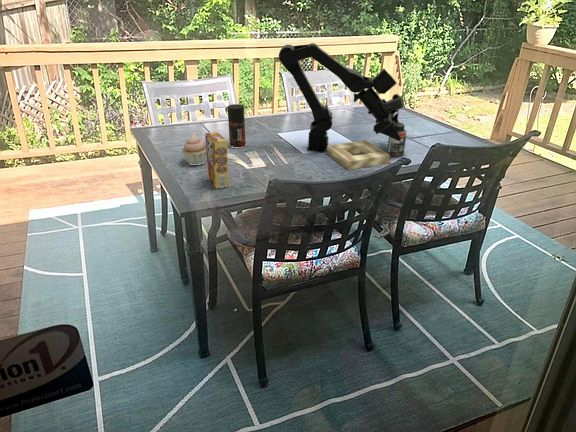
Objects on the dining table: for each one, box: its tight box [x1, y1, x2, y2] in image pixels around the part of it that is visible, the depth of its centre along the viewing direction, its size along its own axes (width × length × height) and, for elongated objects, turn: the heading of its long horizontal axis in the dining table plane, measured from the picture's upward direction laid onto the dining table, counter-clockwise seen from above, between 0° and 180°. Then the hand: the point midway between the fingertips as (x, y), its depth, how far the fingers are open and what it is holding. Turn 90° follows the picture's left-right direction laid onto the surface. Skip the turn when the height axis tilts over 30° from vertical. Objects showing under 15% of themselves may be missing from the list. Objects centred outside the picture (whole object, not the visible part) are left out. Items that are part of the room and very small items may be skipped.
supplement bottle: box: [386, 122, 407, 158], centre depth 165 cm, size 6×6×11 cm
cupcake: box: [181, 134, 207, 164], centre depth 158 cm, size 9×9×10 cm
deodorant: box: [227, 103, 246, 147], centre depth 171 cm, size 6×6×15 cm
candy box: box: [204, 131, 229, 190], centre depth 142 cm, size 9×4×15 cm, turn 26°
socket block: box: [326, 140, 391, 171], centre depth 164 cm, size 16×16×3 cm
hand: (401, 137), depth 165 cm, fingers open, 6 cm apart
